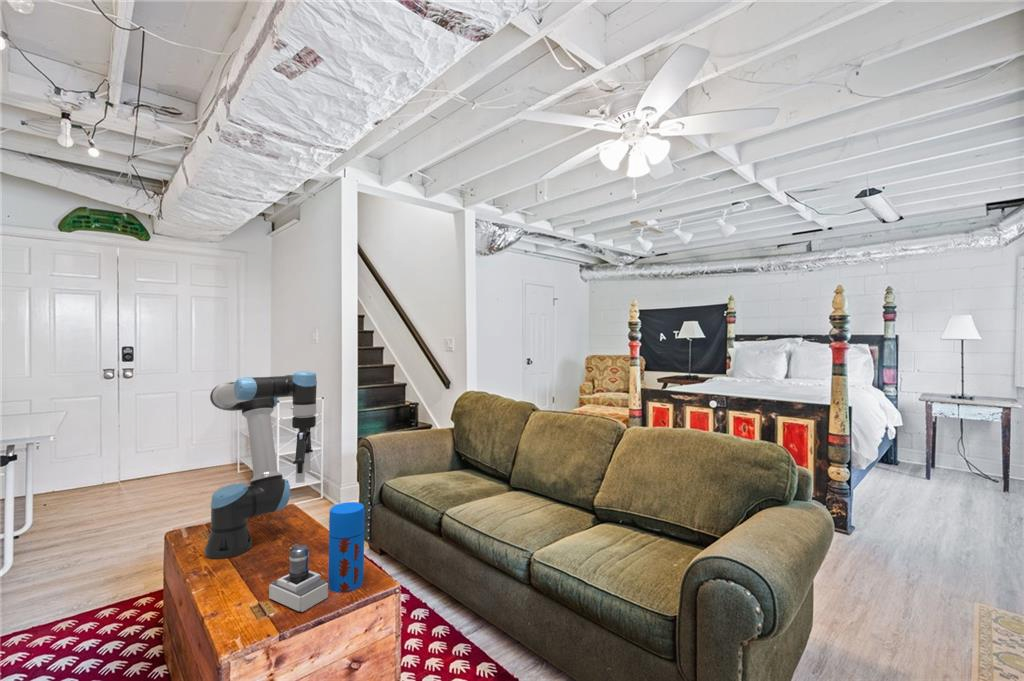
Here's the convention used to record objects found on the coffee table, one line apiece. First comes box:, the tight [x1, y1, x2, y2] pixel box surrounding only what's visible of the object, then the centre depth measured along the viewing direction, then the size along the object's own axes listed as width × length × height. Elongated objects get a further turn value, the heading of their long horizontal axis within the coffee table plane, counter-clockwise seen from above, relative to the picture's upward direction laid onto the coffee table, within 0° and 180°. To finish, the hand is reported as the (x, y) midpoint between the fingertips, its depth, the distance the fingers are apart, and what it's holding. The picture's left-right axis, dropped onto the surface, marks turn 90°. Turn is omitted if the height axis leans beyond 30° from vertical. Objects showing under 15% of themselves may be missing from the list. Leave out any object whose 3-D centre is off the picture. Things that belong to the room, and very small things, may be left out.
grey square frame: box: [268, 570, 329, 613], centre depth 142 cm, size 15×10×7 cm, turn 61°
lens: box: [288, 545, 310, 585], centre depth 142 cm, size 6×6×10 cm
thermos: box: [327, 501, 366, 594], centre depth 151 cm, size 11×11×25 cm
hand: (303, 476), depth 161 cm, fingers open, 13 cm apart
